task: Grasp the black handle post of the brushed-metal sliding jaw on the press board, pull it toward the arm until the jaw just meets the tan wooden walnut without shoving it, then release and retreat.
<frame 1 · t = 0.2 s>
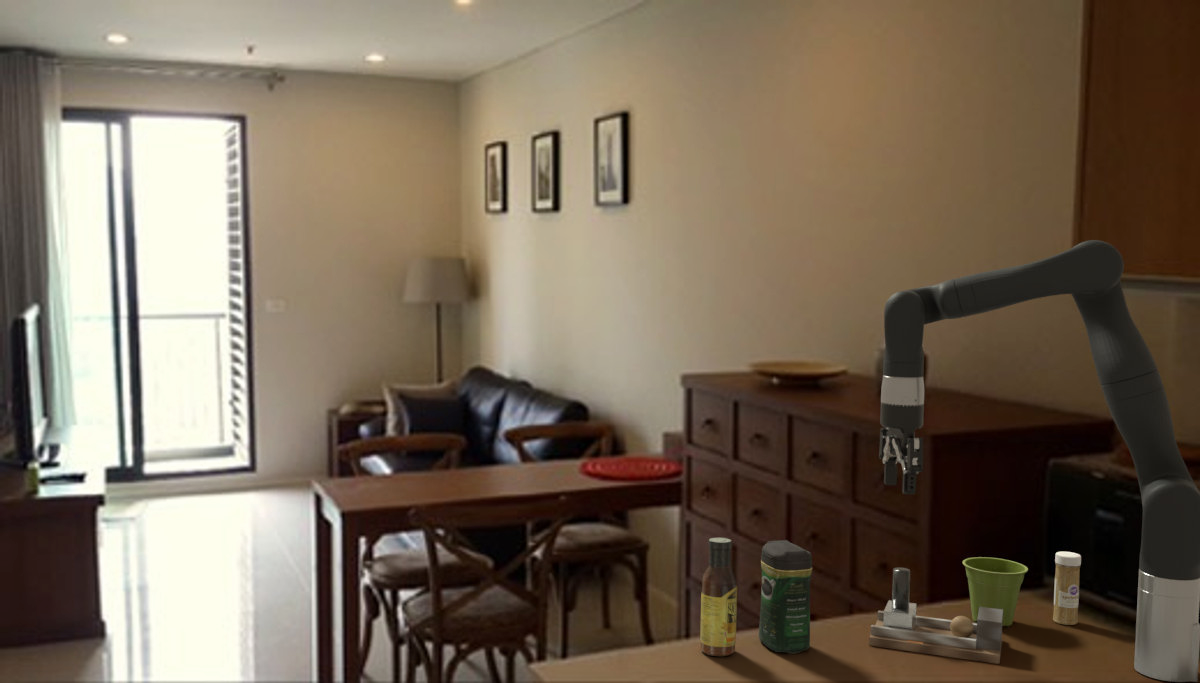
hand: (899, 489, 196), 28 cm above the kitchen counter, fingers open, 8 cm apart
sprinkles bottle: (1065, 623, 209), on the kitchen counter
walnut: (961, 627, 194), point 3 cm above the kitchen counter, touching press board
coffee jar: (784, 646, 193), on the kitchen counter
plant pot: (992, 623, 208), on the kitchen counter
press board: (936, 642, 196), on the kitchen counter
sliding jaw: (900, 599, 197), point 7 cm above the kitchen counter, slide at 0.0 cm
sauce bottle: (717, 652, 189), on the kitchen counter
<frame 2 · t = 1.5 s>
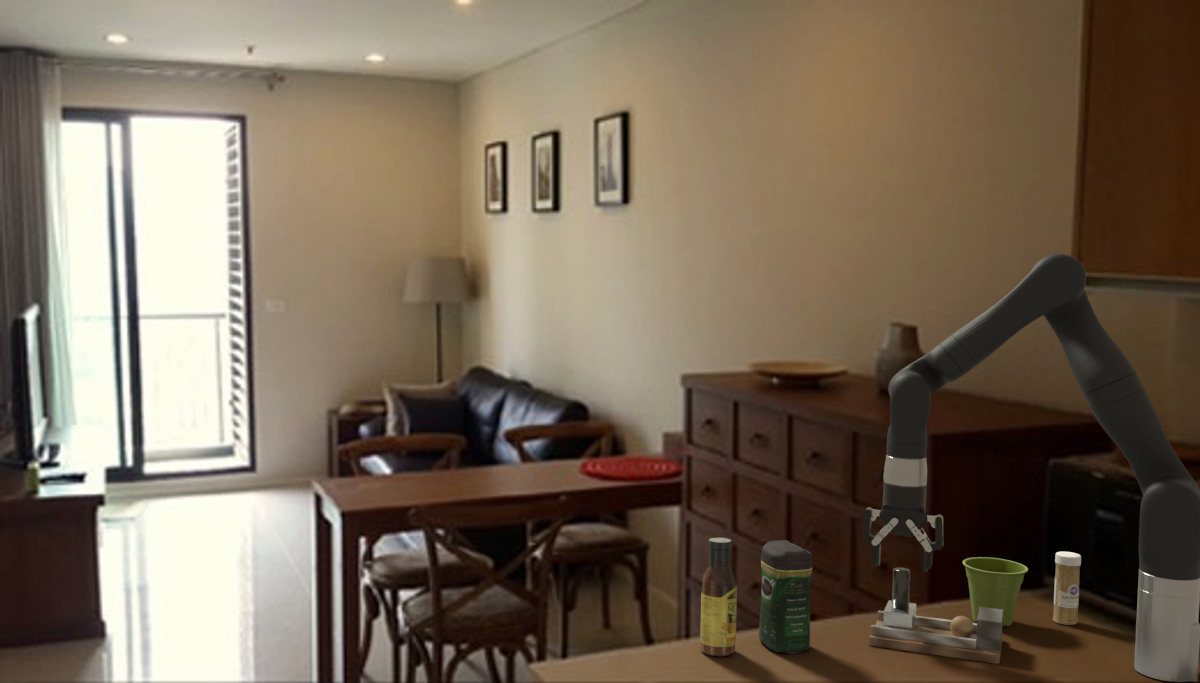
hand: (901, 567, 197), 13 cm above the kitchen counter, fingers open, 8 cm apart
nothing on the kitchen counter moved.
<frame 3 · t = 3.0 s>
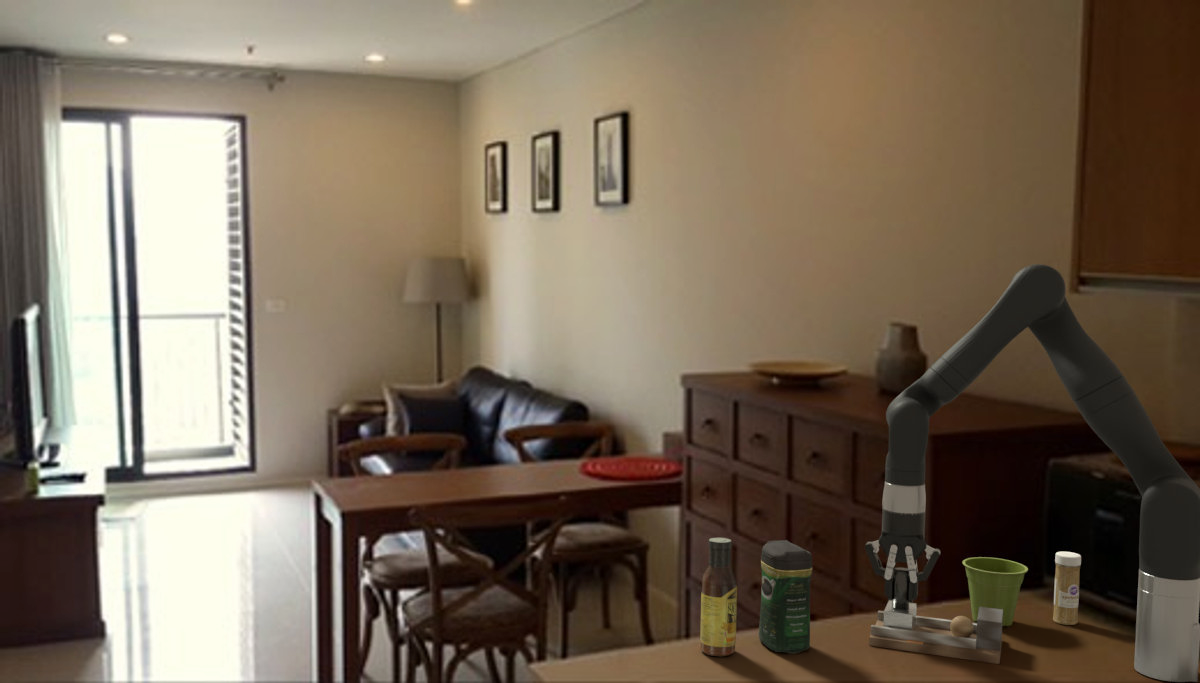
hand: (900, 599, 197), 7 cm above the kitchen counter, fingers closed on sliding jaw, 3 cm apart
sliding jaw: (900, 599, 197), point 7 cm above the kitchen counter, slide at 0.0 cm, touching gripper
everything else where it was.
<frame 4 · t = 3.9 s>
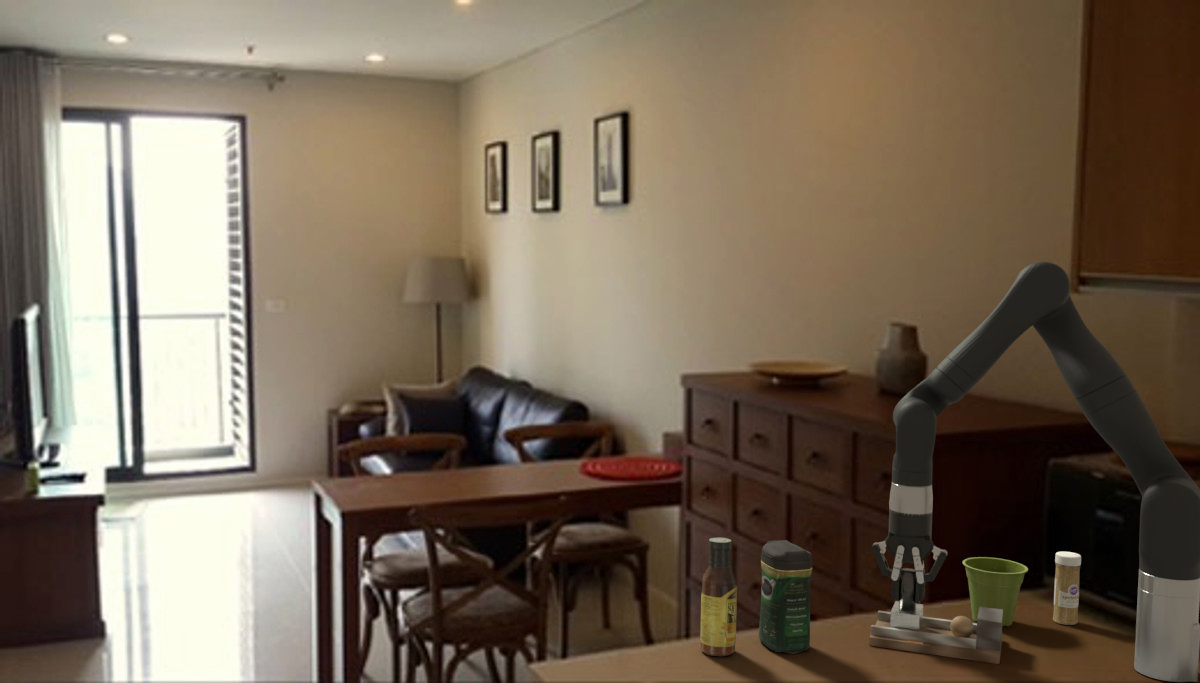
hand: (907, 600, 197), 7 cm above the kitchen counter, fingers closed on sliding jaw, 3 cm apart
sliding jaw: (907, 600, 197), point 7 cm above the kitchen counter, slide at 1.2 cm, touching gripper
everything else where it was.
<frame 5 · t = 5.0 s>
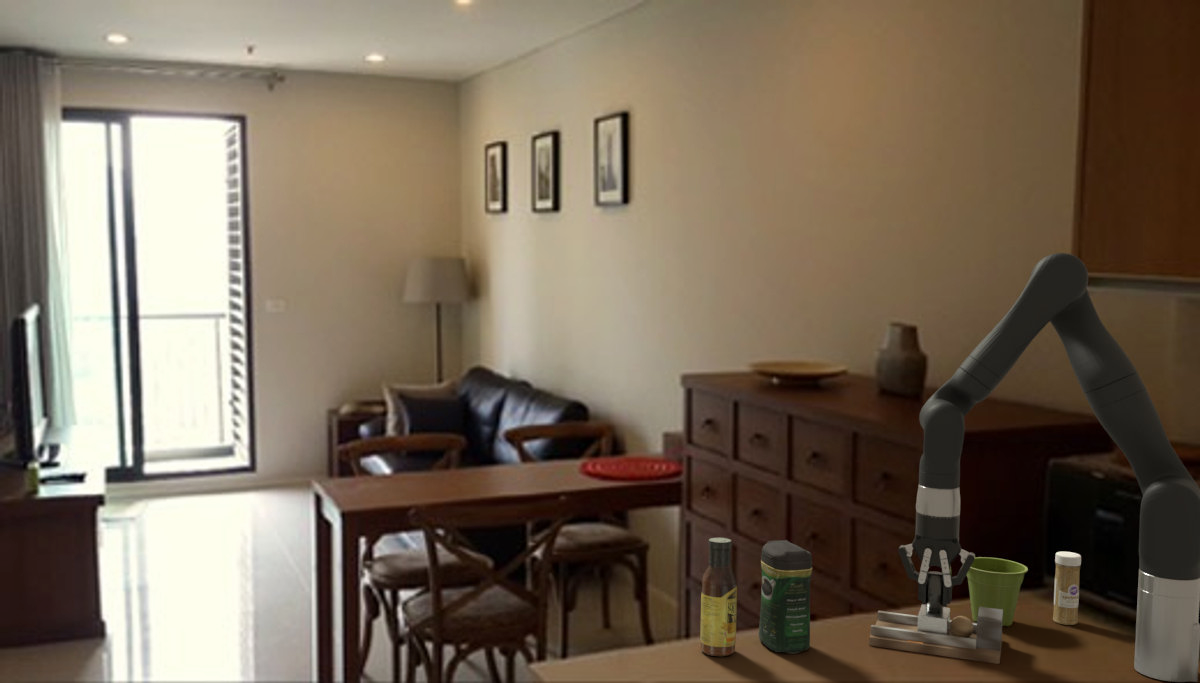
hand: (934, 603, 195), 7 cm above the kitchen counter, fingers closed on sliding jaw, 3 cm apart
sliding jaw: (934, 603, 195), point 7 cm above the kitchen counter, slide at 6.0 cm, touching gripper
everything else where it was.
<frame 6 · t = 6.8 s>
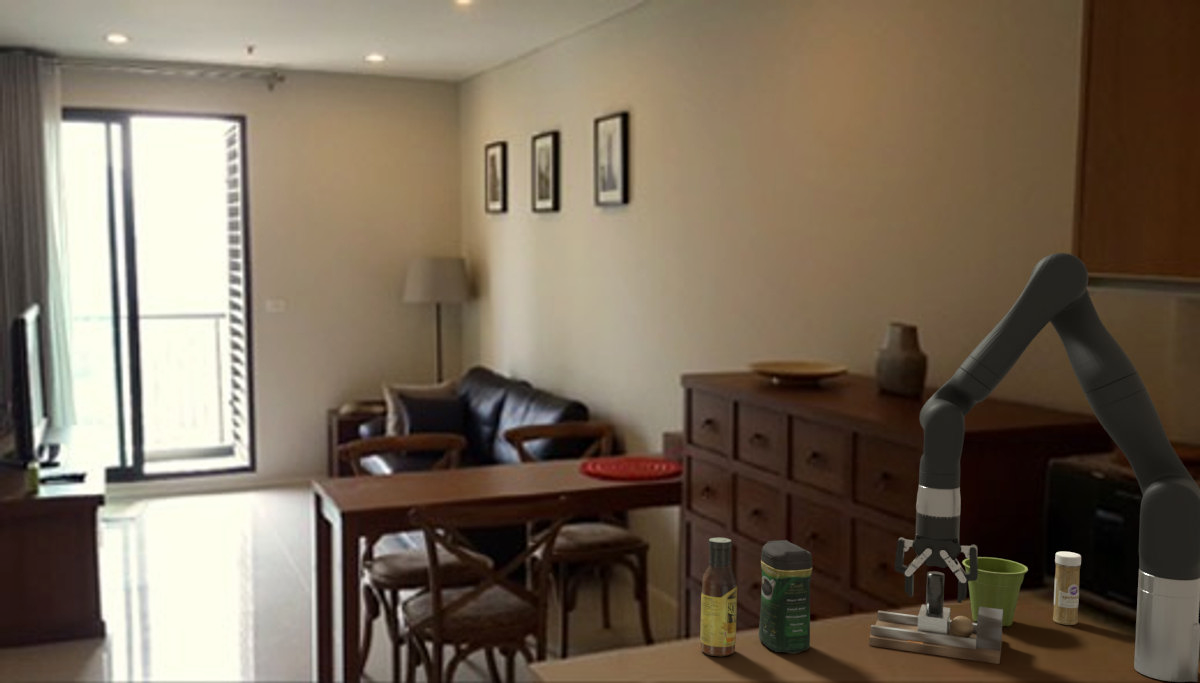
hand: (934, 598, 195), 8 cm above the kitchen counter, fingers open, 8 cm apart
sliding jaw: (934, 603, 195), point 7 cm above the kitchen counter, slide at 6.0 cm
everything else where it was.
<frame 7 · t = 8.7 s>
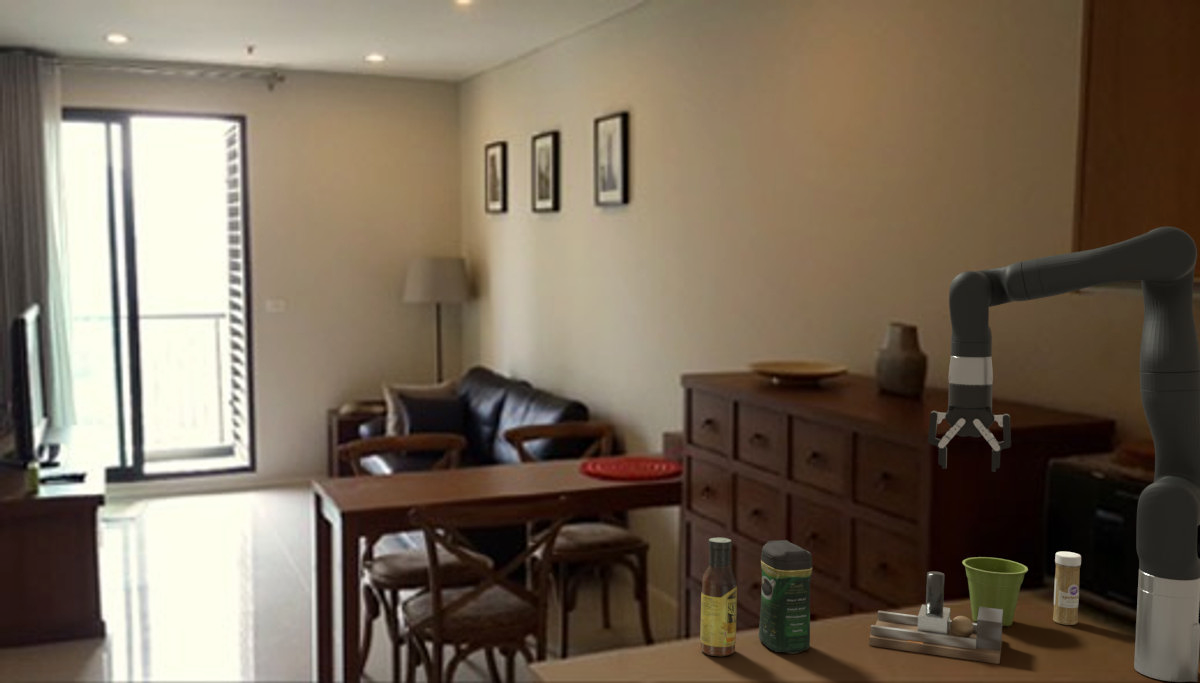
hand: (968, 469, 197), 31 cm above the kitchen counter, fingers open, 8 cm apart
nothing on the kitchen counter moved.
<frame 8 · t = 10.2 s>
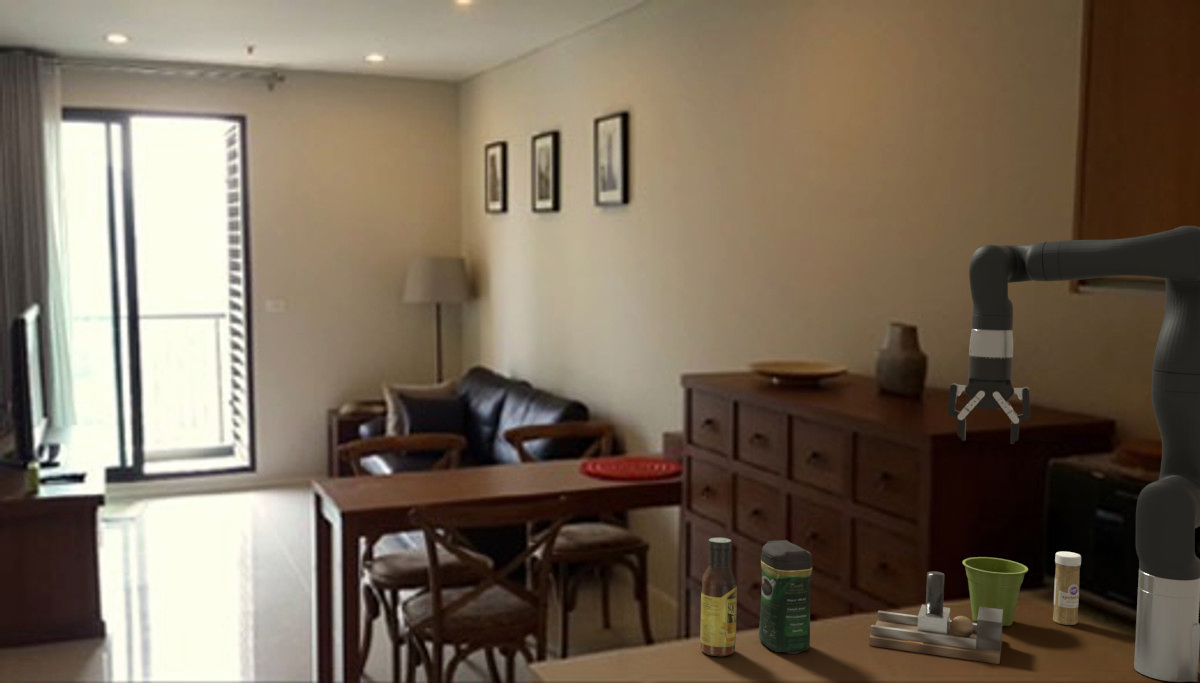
hand: (987, 441, 199), 36 cm above the kitchen counter, fingers open, 8 cm apart
nothing on the kitchen counter moved.
at the end: sliding jaw slide at 6.0 cm; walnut moved 0.1 cm from its start; the gripper is holding nothing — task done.
